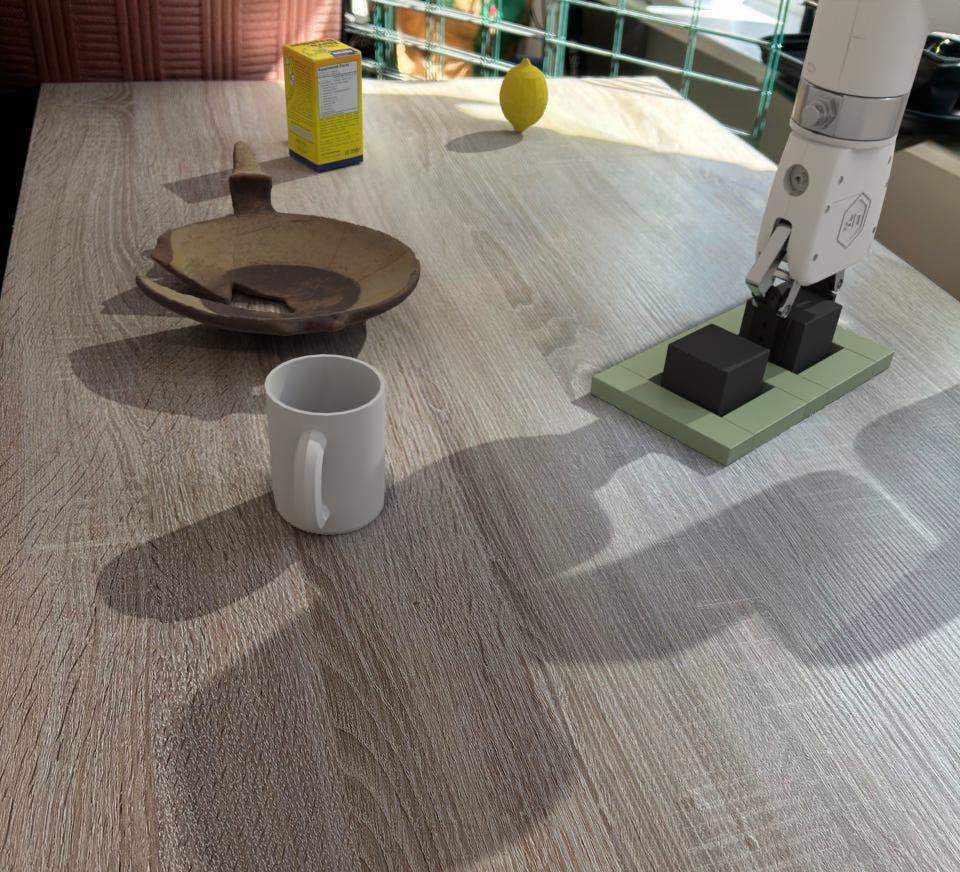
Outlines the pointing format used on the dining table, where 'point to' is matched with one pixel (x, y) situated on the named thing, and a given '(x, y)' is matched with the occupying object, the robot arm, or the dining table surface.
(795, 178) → the robot arm
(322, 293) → the broken clay pan
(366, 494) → the cup
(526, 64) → the fruit
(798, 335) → the black square block
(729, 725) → the dining table surface
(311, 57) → the supplement box
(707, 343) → the black block
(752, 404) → the base board
